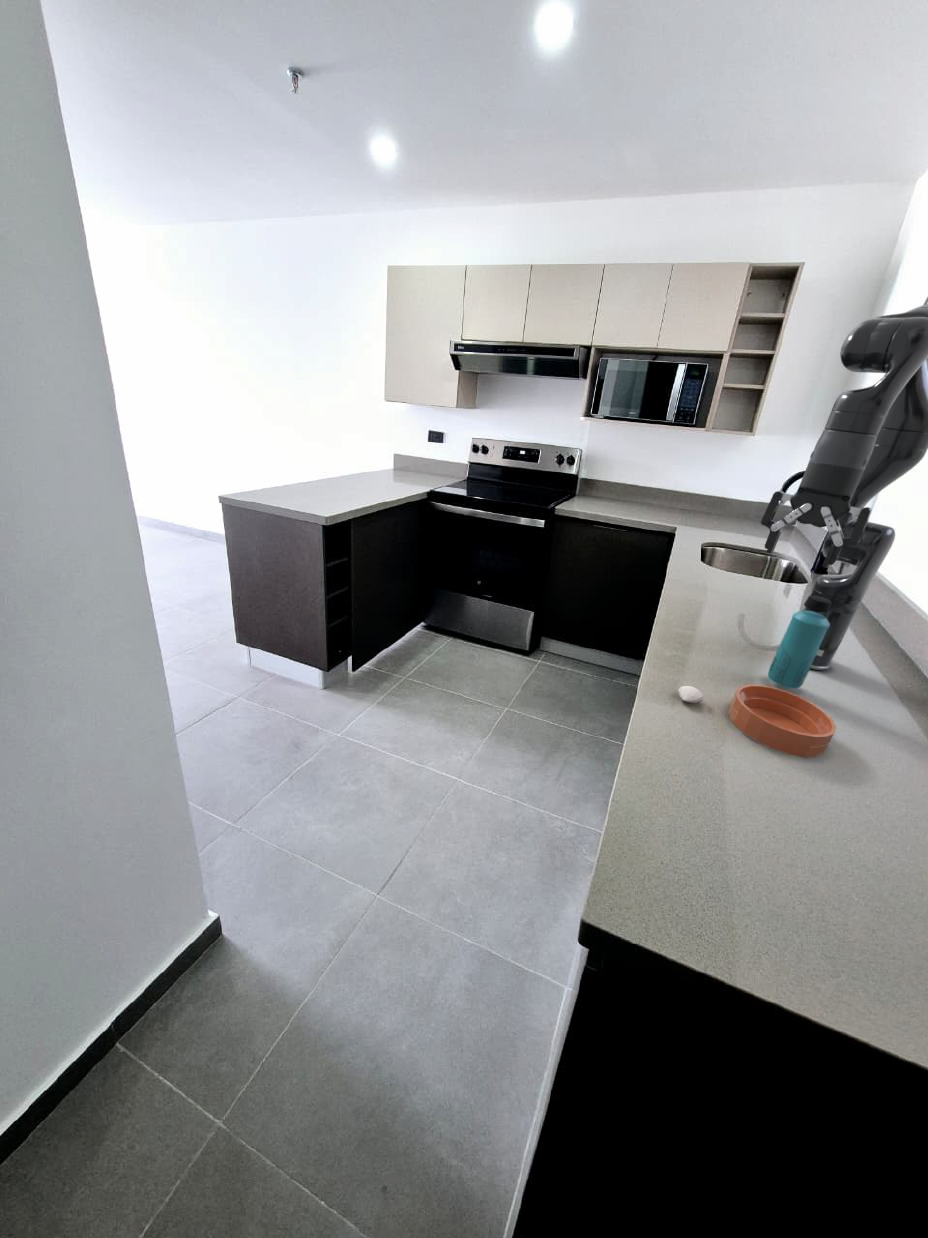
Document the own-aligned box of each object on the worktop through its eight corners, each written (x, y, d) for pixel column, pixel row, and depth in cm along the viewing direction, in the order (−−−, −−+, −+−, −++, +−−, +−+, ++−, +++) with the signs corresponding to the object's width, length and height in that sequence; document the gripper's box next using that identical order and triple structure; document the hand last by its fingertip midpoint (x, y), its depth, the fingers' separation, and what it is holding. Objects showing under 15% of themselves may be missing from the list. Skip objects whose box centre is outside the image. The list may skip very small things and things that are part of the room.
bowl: (741, 695, 96) (749, 675, 94) (830, 734, 87) (842, 713, 85) (716, 724, 85) (725, 703, 83) (815, 772, 76) (828, 749, 74)
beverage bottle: (804, 698, 98) (848, 607, 89) (769, 691, 99) (810, 600, 90) (791, 681, 104) (831, 595, 95) (758, 675, 104) (795, 589, 96)
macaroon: (703, 702, 91) (707, 690, 90) (693, 711, 88) (698, 700, 87) (680, 691, 94) (684, 680, 93) (670, 700, 90) (674, 689, 89)
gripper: (894, 470, 76) (847, 568, 82) (792, 455, 84) (757, 545, 91) (890, 471, 71) (841, 575, 77) (782, 455, 79) (746, 550, 86)
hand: (796, 559), depth 84 cm, fingers open, 8 cm apart
